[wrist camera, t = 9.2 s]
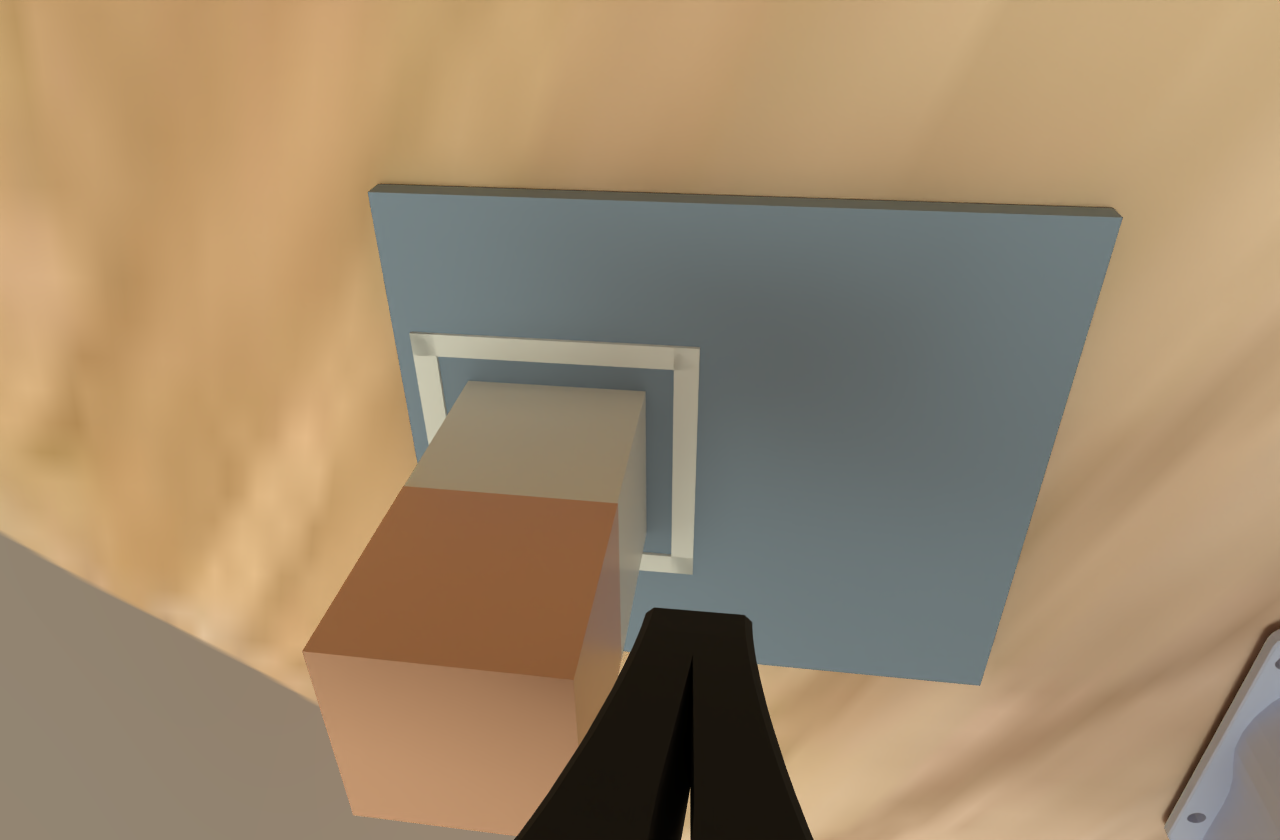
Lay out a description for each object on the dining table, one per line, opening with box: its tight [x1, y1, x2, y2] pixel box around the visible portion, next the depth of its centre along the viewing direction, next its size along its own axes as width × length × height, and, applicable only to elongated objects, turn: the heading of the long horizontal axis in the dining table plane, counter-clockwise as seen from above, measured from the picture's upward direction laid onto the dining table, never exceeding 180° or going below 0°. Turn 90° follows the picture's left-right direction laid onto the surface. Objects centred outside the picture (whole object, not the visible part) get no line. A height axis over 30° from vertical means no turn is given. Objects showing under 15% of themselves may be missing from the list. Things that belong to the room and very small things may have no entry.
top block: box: [302, 486, 621, 836], centre depth 17 cm, size 4×4×4 cm
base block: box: [404, 381, 646, 659], centre depth 20 cm, size 4×4×4 cm
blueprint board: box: [368, 184, 1123, 686], centre depth 22 cm, size 14×16×1 cm
